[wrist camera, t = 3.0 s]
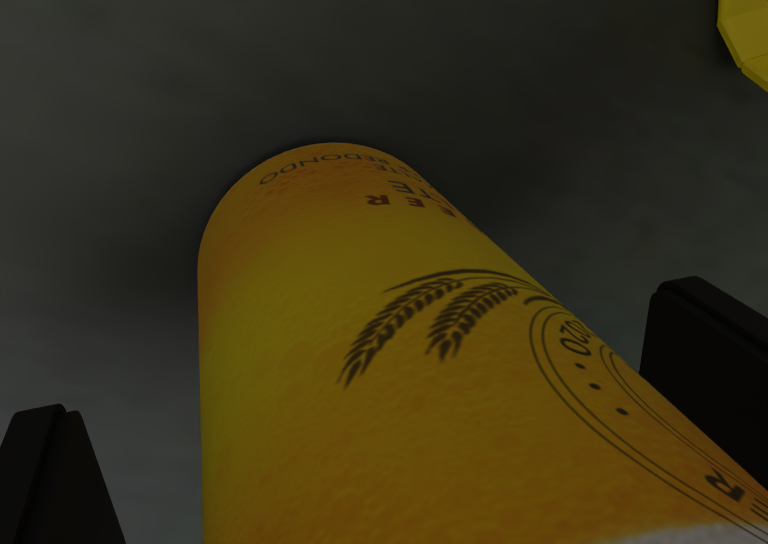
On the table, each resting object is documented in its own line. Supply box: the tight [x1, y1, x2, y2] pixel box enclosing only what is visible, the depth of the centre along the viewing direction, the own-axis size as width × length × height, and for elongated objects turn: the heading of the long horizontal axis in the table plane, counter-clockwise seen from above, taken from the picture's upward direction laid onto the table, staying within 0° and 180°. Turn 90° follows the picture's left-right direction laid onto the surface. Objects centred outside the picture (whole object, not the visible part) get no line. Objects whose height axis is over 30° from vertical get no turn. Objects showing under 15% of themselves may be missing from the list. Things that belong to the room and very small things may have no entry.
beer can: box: [197, 143, 768, 544], centre depth 9 cm, size 6×6×15 cm
